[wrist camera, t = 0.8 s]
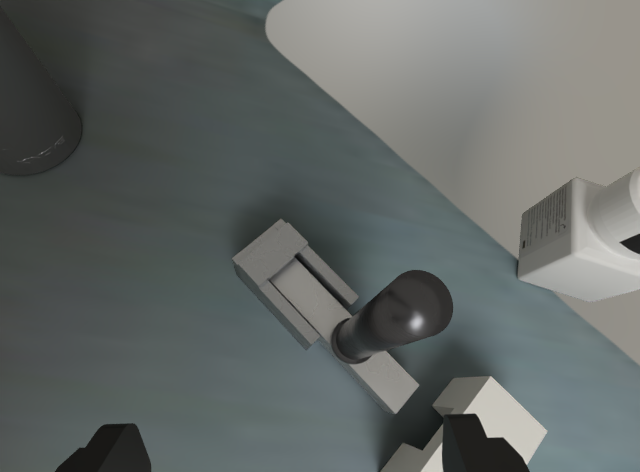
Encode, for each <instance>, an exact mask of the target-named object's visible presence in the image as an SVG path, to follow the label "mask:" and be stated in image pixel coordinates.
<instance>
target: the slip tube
mask: <svg viewBox="0 0 640 472" xmlns="http://www.w3.org/2000/svg"><path fill="white" fill-rule="evenodd" d="M268 281H269V282H270V283H271V284H272V285H273V286H274V287H275V288H276V289H277V291H278V292H279V293H280V294H281V295H282V296H283V297H284V298H285V299H286V300H287V301H288V302H289V303H290V304H291V305H292V307H293V308H294V309H295V310H296V311H297V312H298V313H299V314H300V315H301V316H302V317H303V318H304V319H305V320H306V321H307V322H308V324H309V325H310V326H311V327H312V328H313V329H314V330H315V331H316V332H317V333H318V334H319V335H320V337H319V338H318V341H319V342H320V343H321V344H322V345H323V346H324V347H325V348H326V349H327V350H328V351H329V352H330V353H331V354H332V356H333V357H334V358H335V359H336V360H337V361H338V362H339V363H340V364H341V365H342V366H343V367H344V368H345V369H346V370H347V372H348V373H349V374H350V375H351V376H352V377H353V378H354V379H355V380H356V381H357V382H358V383H359V384H360V385H361V387H362V388H363V389H364V390H365V391H366V392H367V393H368V394H369V395H370V396H371V397H372V398H373V399H374V400H375V402H376V403H377V404H378V405H379V406H380V407H381V408H382V409H383V410H384V411H385V412H388V413H393V414H396V413H397V412H398V411H399V410H400V409H401V407H402V406H403V405H404V404H405V402H406V401H407V400H408V399H409V398H410V396H411V395H412V394H413V393H414V391H415V390H416V389H417V388H418V386H419V384H418V383H417V382H416V381H415V380H414V379H413V378H412V377H411V376H410V375H409V374H408V373H407V372H406V371H405V370H404V369H403V368H402V367H401V366H400V365H399V364H398V363H397V362H396V361H395V360H394V359H393V358H392V357H391V355H390V354H389V353H388V352H387V350H390V349H393V348H396V347H399V346H402V345H405V344H409V343H412V342H415V341H418V340H421V339H424V338H427V337H431V336H434V335H436V334H438V333H440V332H441V331H443V330H444V329H445V328H446V327H447V325H448V324H449V322H450V320H451V317H452V313H453V302H452V298H451V295H450V292H449V290H448V289H447V287H446V286H445V284H444V283H443V282H442V281H441V280H440V279H439V278H437V277H436V276H434V275H433V274H431V273H429V272H426V271H421V270H412V271H407V272H405V273H402V274H401V275H399V276H398V277H397V278H396V279H395V280H394V281H392V282H391V283H390V284H389V285H388V286H387V287H386V288H384V289H383V290H382V291H381V292H380V293H379V294H378V295H376V296H375V297H374V298H373V299H372V300H371V301H370V302H368V303H367V304H366V305H365V306H364V307H363V308H362V309H360V310H359V311H358V312H357V313H356V314H355V315H354V316H352V315H351V314H350V313H349V312H348V311H347V310H346V309H345V308H344V307H343V306H342V305H341V304H340V303H339V302H338V301H337V300H336V299H335V298H334V297H333V296H332V295H331V294H330V293H329V292H328V291H327V290H326V289H325V288H324V287H323V286H322V285H321V284H320V283H319V282H318V281H317V280H316V279H315V278H314V277H313V275H312V274H311V273H310V272H309V271H308V270H307V269H306V268H305V267H304V266H303V265H302V264H301V263H300V262H299V261H298V260H297V259H296V258H295V257H294V258H293V259H292V260H291V261H289V262H288V263H287V264H286V265H285V266H284V267H282V268H281V269H280V270H279V271H278V272H277V273H276V274H274V275H273V276H272V277H271V278H270V279H269V280H268Z"/></svg>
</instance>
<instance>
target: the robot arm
mask: <svg viewBox="0 0 640 472" xmlns="http://www.w3.org/2000/svg"><path fill="white" fill-rule="evenodd" d="M81 130H82V126H81V121H80V118H79V117H78V115H77V113H76V111H75V110H74V109H73V107H72V106H71V104H70V103H69V102H68V100H67V99H66V97H65V96H64V95H63V93H62V92H61V90H60V89H59V88H58V86H57V85H56V83H55V82H54V80H53V79H52V77H51V76H50V75H49V73H48V72H47V70H46V69H45V68H44V66H43V65H42V64H41V62H40V61H39V59H38V58H37V57H36V55H35V54H34V52H33V51H32V50H31V48H30V47H29V45H28V44H27V43H26V41H25V40H24V38H23V37H22V36H21V34H20V33H19V31H18V30H17V29H16V27H15V26H14V24H13V23H12V22H11V20H10V19H9V17H8V16H7V15H6V13H5V12H4V10H3V9H2V8H1V6H0V173H4V174H9V175H30V174H36V173H39V172H42V171H46V170H48V169H50V168H52V167H54V166H56V165H58V164H59V163H61V162H62V161H64V160H65V159H66V158H67V157H68V156H69V155H70V154H71V153H72V152H73V151H74V149H75V148H76V146H77V145H78V143H79V140H80V137H81ZM442 466H443V472H530V471H529V469H528V467H527V465H526V463H525V461H524V459H523V457H522V456H521V455H520V454H519V453H518V452H517V451H516V450H515V449H514V448H513V447H512V446H511V445H510V444H509V443H508V442H507V441H506V440H505V439H504V437H495V438H487V435H486V433H485V431H484V428H483V426H482V424H481V421H480V419H479V417H478V416H477V415H476V414H475V413H472V414H445V415H444V419H443V440H442ZM55 472H151V462H150V459H149V457H148V454H147V451H146V448H145V446H144V443H143V440H142V438H141V435H140V432H139V430H138V427H137V426H136V425H135V424H133V423H131V424H106V425H103V426H101V427H100V428H99V429H98V430H97V432H96V433H95V434H94V436H93V437H92V439H91V440H90V442H89V443H88V445H87V446H86V447H85V448H79V449H78V450H77V451H76V452H74V453H73V454H72V455H71V456H70V457H69V458H68V459H67V460H66V461H64V462H63V463H62V464H61V465H60V466H59V467H58V468H57V469H56V471H55Z"/></svg>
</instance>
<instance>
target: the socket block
mask: <svg viewBox="0 0 640 472" xmlns="http://www.w3.org/2000/svg"><path fill="white" fill-rule="evenodd" d="M432 407H433V408H434V409H435V410H436V411H437V412H438V413H439V414H440V415H441V416H442V417H443V418H444V415H445V414H472V413H475V414H476V415H477V416H478V417H479V419H480V421H481V424H482V426H483V428H484V431H485V433H486V435H487V438H495V437H504V439H505V440H506V441H507V442H508V443H509V444H510V445H511V446H512V447H513V448H514V449H515V450H516V451H517V452H518V453H519V454H520V455H521V456H522V457H523V459H524V461H525V463H526V465H527V464H528V462H529V460H530V459H531V457H532V456H533V454H534V452H535V451H536V449H537V448H538V446H539V444H540V443H541V441H542V440H543V438H544V436H545V435H546V433H547V432H548V431H547V430H546V429H545V428H544V427H543V426H542V425H541V424H540V423H539V422H538V421H537V420H536V419H535V418H534V417H532V416H531V415H530V414H529V413H528V412H527V411H526V410H525V409H524V408H523V407H522V406H521V405H520V404H519V403H518V402H517V401H516V400H515V399H514V398H513V397H512V396H511V395H510V394H509V393H508V392H507V391H506V390H505V389H504V388H503V387H502V386H501V385H500V384H499V383H498V382H496V381H495V380H494V379H493V378H492V377H491V376H481V377H461V378H453V379H452V380H451V381H450V383H449V384H448V385H447V387H446V388H445V389H444V390H443V392H442V393H441V394H440V396H439V397H438V398H437V399H436V401H435V402H434V403H433V405H432ZM442 440H443V424H442V425H441V427H440V428H439V429H438V431H437V432H436V433H435V435H434V436H433V437H432V439H431V440H430V441H429V443H428V444H427V445H426V447H425V448H424V449H423V451H422V450H420V449H417V448H415V447H413V446H410V445H408V444H405V443H402V444H401V446H400V447H399V448H398V449H397V451H396V452H395V453H394V455H393V456H392V457H391V458H390V460H389V461H388V462H387V464H386V465H385V466H384V467H383V469H382V470H381V471H380V472H443V466H442Z"/></svg>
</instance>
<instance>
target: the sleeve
mask: <svg viewBox="0 0 640 472" xmlns="http://www.w3.org/2000/svg"><path fill="white" fill-rule="evenodd" d="M294 257H295V258H296V259H297V260H298V261H299V262H300V263H301V264H302V265H303V266H304V267H305V268H306V269H307V270H308V271H309V272H310V273H311V274H312V275H313V277H314V278H315V279H316V280H317V281H318V282H319V283H320V284H321V285H322V286H323V287H324V288H325V289H326V290H327V291H328V292H329V293H330V294H331V295H332V296H333V297H334V298H335V299H336V300H337V301H338V302H339V303H340V304H341V305H342V306H343V307H344V308H345V309H346V310H347V309H348V308H349V307H350V306H351V305H352V304H353V303H354V302H355V301H356V300H357V299H358V298H359V296H358V295H357V294H356V293H355V292H354V291H353V290H352V289H351V288H350V287H349V286H348V285H347V284H346V283H345V282H344V281H343V280H342V279H341V278H340V277H339V276H338V275H337V274H336V273H335V272H334V271H333V270H332V269H331V268H330V267H329V266H328V265H327V264H326V263H325V262H324V261H323V260H322V259H321V258H320V257H319V256H318V255H317V254H316V253H315V252H314V251H313V250H312V249H311V248H310V247H309V246H308V242H307V241H306V240H305V239H304V238H303V237H302V236H301V235H300V234H299V233H298V232H297V231H296V230H295V229H294V228H293V227H292V226H291V225H290V224H289V223H285V222H284V221H283V220H282V219H280V220H279V221H277V222H276V223H275V224H274V225H273V226H272V227H270V228H269V229H268V230H267V231H265V232H264V233H263V234H262V235H260V236H259V237H258V238H257V239H255V240H254V241H253V242H252V243H251V244H249V245H248V246H247V247H246V248H244V249H243V250H242V251H240V252H239V253H238V254H237V255H235V256H234V257H233V258H232V261H233V264H234V268H235V271H236V274H237V276H238V277H239V278H240V279H241V280H242V281H243V282H244V283H245V285H246V286H247V287H248V288H249V289H250V290H251V291H252V292H253V293H254V294H255V295H256V296H257V298H258V299H259V300H260V301H261V302H262V303H263V304H264V305H265V306H266V307H267V308H268V309H269V311H270V312H271V313H272V314H273V315H274V316H275V317H276V318H277V319H278V320H279V321H280V323H281V324H282V325H283V326H284V327H285V328H286V329H287V330H288V331H289V332H290V333H291V334H292V336H293V337H294V338H295V339H296V340H297V341H298V342H299V343H300V344H301V345H302V346H303V348H304V349H305V350H307V349H308V348H309V347H310V346H311V345H312V344H313V343H314V342H315V341H316V340H317V339H318V338H319V337H320V335H319V334H318V333H317V332H316V331H315V330H314V329H313V328H312V327H311V326H310V325H309V324H308V322H307V321H306V320H305V319H304V318H303V317H302V316H301V315H300V314H299V313H298V312H297V311H296V310H295V309H294V308H293V307H292V305H291V304H290V303H289V302H288V301H287V300H286V299H285V298H284V297H283V296H282V295H281V294H280V293H279V292H278V291H277V289H276V288H275V287H274V286H273V285H272V284H271V283H270V282H269V281H268V280H269V279H270V278H271V277H272V276H273V275H274V274H276V273H277V272H278V271H279V270H280V269H281V268H282V267H284V266H285V265H286V264H287V263H288V262H289V261H291V260H292V259H293V258H294Z"/></svg>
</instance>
